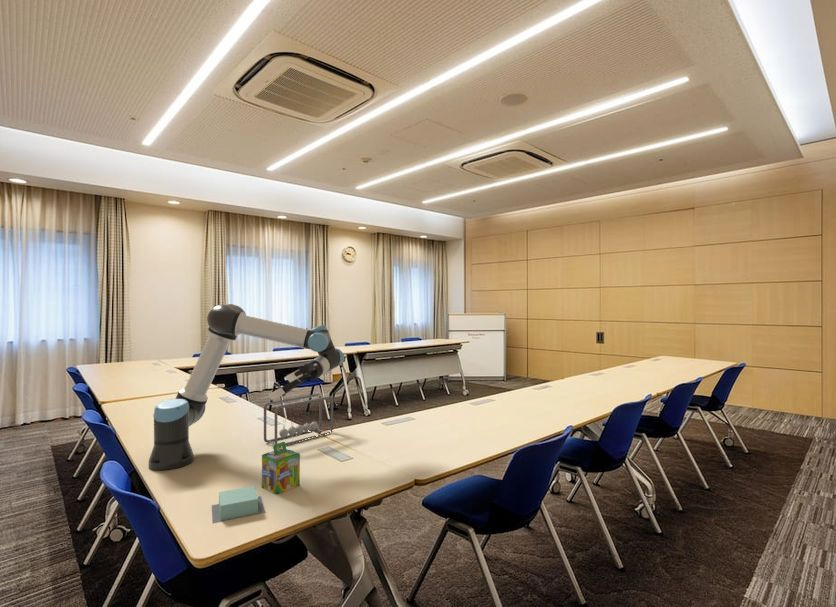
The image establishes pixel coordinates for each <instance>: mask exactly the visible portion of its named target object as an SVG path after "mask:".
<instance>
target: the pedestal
mask: <svg viewBox="0 0 836 607" xmlns="http://www.w3.org/2000/svg"><path fill="white" fill-rule="evenodd" d="M258 497H259V496H258V495H257V491H256V488H255V485H251V486H247V487H239V488H234V489H229V490H224V491H219V492H218V504H219V511H220V520H223V519H228V518H233V517H238V516H243V515H248V514H253V513H258Z"/></svg>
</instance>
